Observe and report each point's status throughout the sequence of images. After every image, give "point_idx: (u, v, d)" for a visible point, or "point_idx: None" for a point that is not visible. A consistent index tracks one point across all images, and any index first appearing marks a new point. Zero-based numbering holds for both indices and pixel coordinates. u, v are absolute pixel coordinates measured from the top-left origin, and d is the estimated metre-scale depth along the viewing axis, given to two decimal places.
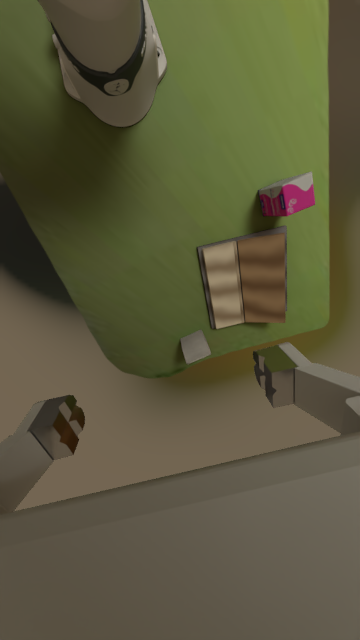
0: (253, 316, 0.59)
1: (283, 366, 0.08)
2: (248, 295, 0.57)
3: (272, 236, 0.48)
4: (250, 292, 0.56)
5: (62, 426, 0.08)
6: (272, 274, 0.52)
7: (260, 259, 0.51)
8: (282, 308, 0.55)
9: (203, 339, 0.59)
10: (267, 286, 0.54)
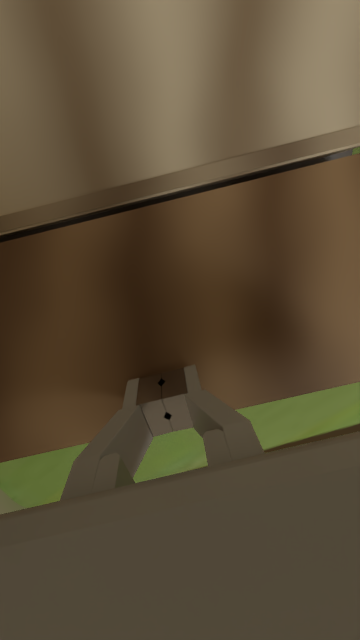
0: None
1: (175, 392, 0.08)
2: (74, 256, 0.10)
3: None
4: (96, 263, 0.10)
5: None
6: (213, 356, 0.10)
7: (284, 283, 0.10)
8: (32, 443, 0.10)
9: None
10: (142, 344, 0.10)
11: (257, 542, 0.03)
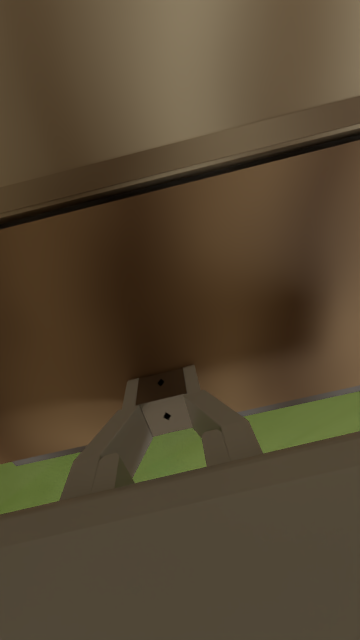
0: None
1: (174, 392, 0.08)
2: (45, 269, 0.07)
3: None
4: (77, 278, 0.07)
5: None
6: (220, 373, 0.10)
7: (309, 302, 0.08)
8: (45, 446, 0.11)
9: None
10: (146, 366, 0.09)
11: (257, 542, 0.03)
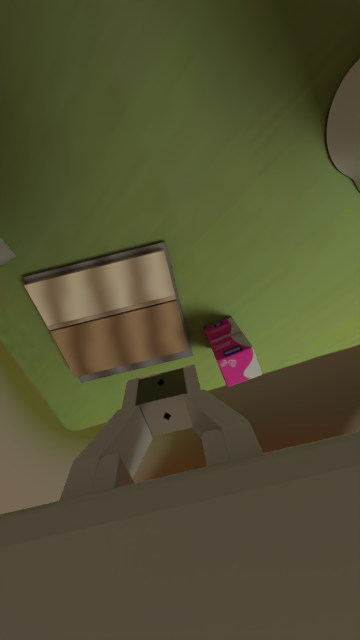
0: (66, 340, 0.38)
1: (174, 392, 0.08)
2: (98, 327, 0.37)
3: (184, 339, 0.40)
4: (105, 329, 0.37)
5: None
6: (138, 349, 0.39)
7: (155, 332, 0.38)
8: (94, 370, 0.41)
9: None
10: (120, 347, 0.39)
11: (257, 542, 0.03)
